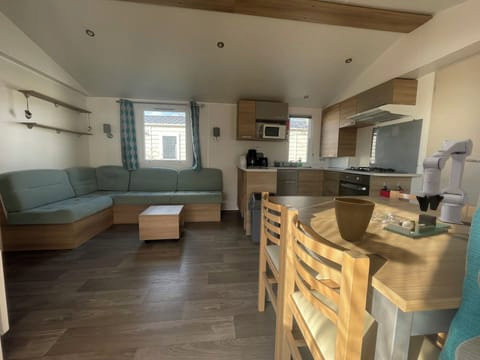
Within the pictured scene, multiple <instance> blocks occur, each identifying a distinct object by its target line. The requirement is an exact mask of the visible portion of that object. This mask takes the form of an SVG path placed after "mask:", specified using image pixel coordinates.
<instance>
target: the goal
mask: <svg viewBox="0 0 480 360" xmlns="http://www.w3.org/2000/svg"><path fill="white" fill-rule="evenodd" d="M400 222H401V218H396V219H395V223H393V222H388V224H387V227H388V228H389V229H392V230H395V231H399V232H402V233H405V234H408V235H411V233H419V227H420V224H416V226H415V232H412V231H411V228H407V227H404V226H400V225H399V223H400Z"/></svg>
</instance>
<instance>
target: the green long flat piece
mask: <svg viewBox="0 0 480 360" xmlns="http://www.w3.org/2000/svg"><path fill="white" fill-rule="evenodd" d="M409 221H410V222H414V223H418V221H416V220H409ZM403 222H404V221H400V223H399V225H400V226H402V223H403ZM450 227H452V225H451V224H445V223H443V222H442V223H441V222H438V221H436V227H435V226H434V225H432V226H426V227H420V228H419V233H411V235H408V234H405V233H402V232H399V231H395V230H392V229H389V228H388V226H383V230H385V231H388V232H390V233H394V234H397V235H400V236H403V237H407V238H409V239H417V238H422V237H427V236H428V237H429V236H431V235H432V236H433V235H438V234H443V232H444V233H448V232H449V229H450ZM445 228H446V229H445ZM411 231H412V232H415V230H414V229H411Z"/></svg>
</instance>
